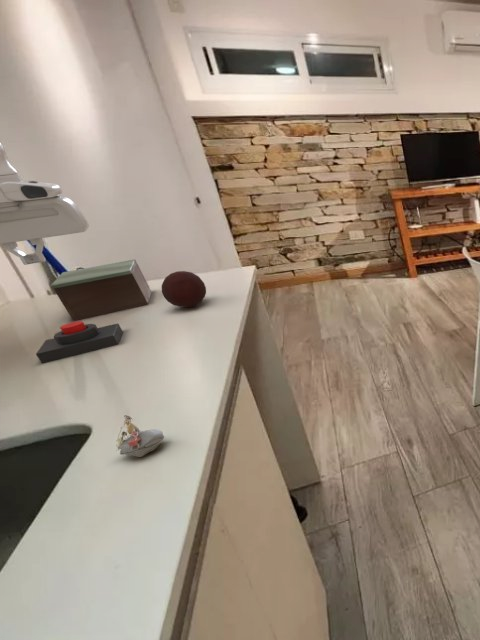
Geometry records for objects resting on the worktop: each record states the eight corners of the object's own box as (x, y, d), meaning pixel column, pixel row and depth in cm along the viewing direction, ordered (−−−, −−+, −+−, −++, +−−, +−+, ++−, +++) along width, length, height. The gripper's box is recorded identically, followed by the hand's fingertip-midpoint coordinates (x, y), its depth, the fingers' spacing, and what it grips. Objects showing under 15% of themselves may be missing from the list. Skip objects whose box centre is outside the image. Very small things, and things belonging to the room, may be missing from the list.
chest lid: (131, 273, 123) (129, 270, 122) (52, 288, 115) (50, 285, 115) (136, 262, 133) (135, 259, 133) (64, 275, 126) (62, 272, 125)
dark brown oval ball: (208, 295, 130) (193, 263, 126) (215, 306, 122) (200, 271, 118) (169, 305, 125) (152, 272, 121) (173, 317, 117) (155, 281, 113)
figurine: (172, 437, 71) (152, 403, 68) (164, 453, 67) (143, 419, 65) (127, 449, 69) (105, 416, 66) (116, 467, 65) (93, 432, 62)
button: (62, 337, 100) (58, 329, 99) (66, 332, 103) (61, 324, 102) (85, 331, 102) (81, 324, 101) (88, 326, 105) (84, 319, 104)
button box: (41, 363, 98) (30, 346, 96) (51, 348, 104) (40, 332, 102) (118, 344, 104) (109, 327, 102) (123, 331, 111) (114, 316, 109)
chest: (148, 304, 127) (131, 272, 123) (73, 320, 119) (52, 287, 116) (151, 291, 137) (136, 262, 133) (82, 306, 129) (64, 275, 126)
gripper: (-100, 203, 82) (-48, 279, 88) (63, 186, 93) (99, 254, 99) (-85, 199, 87) (-36, 271, 93) (69, 183, 98) (103, 249, 104)
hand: (35, 262), depth 96 cm, fingers closed
